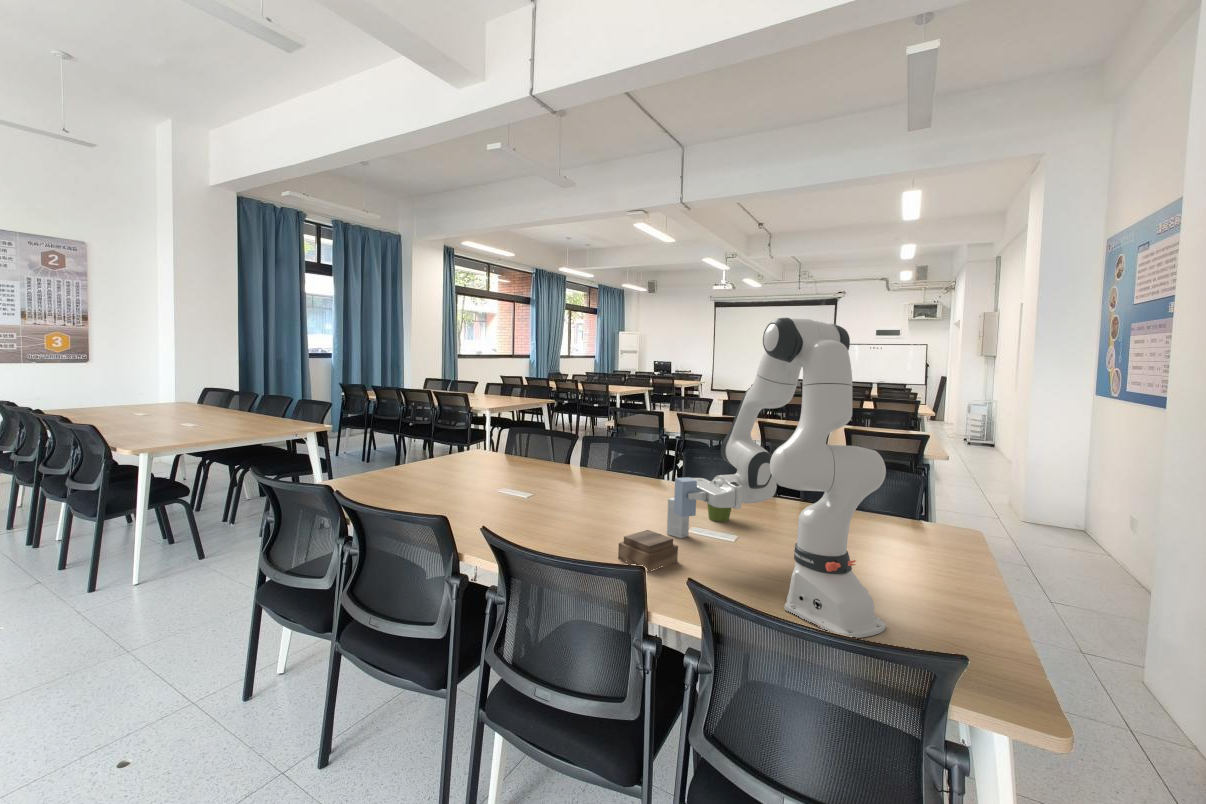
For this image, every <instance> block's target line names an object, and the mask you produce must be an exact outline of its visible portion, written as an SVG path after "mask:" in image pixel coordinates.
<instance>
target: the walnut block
mask: <svg viewBox="0 0 1206 804" xmlns="http://www.w3.org/2000/svg"><path fill="white" fill-rule="evenodd" d="M617 555H618V557H617V559H618V560H619V559H621V560H620V561H622V562H624V561H627V562H625V563H627V564H629V565H631V564H636V565H643V566H645V567H646V568H647V570H648V572H647V573H651V572H652V571H651V570H653V569H656V568H659V567H661V566H664V567H666V566H665V565H667V566H669V565H668V564H670V565H672V564H671V563H673V564H675V563H674V562H676V563H678V555H679V545H677V544H674V538H672V537H670V536H667V535H664V534H661V533H658V532H656V531H653V530H650V529H646V530H645V529H644V530H642V531H639V532H635V533H631V534H628V535H624V536H623V541H621V542H618V554H617ZM659 569H660V568H659ZM656 570H657V569H656ZM653 571H654V570H653Z"/></svg>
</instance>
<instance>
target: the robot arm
mask: <svg viewBox="0 0 1206 804" xmlns="http://www.w3.org/2000/svg"><path fill="white" fill-rule="evenodd" d="M850 344H851V338H850V334H849V332H848V331H847V329H846V328H845V327H842V326H840V325H838V324H836V323H835V324H834V323H827V322H823V321H818V320H817V321H816V320H812V319H809V318H789V317H780V318H775V319H772V320H771V321H769V323H768V324H767V326H766V328H765V329H764V331H763V335H762V345H763V349H764V352H763V354H762V357H761V360H760V361H759V365H758V368H757V371H756V374H755V379H754V381H753V383H752V385H751V386H750V387H749V388H748V389H747V390H746V391H745V393H743V396H742V398H741V401H740V403H739V405H738V408H737V410H736V414H735V416H734V419H733V421H732V424H731V425H730V428H729V430H728V433H727V434H726V435H725V437H724V439H723V441H722V443H721V446H720V454H721V457H722V459H723V460H724V461H725V462H726V463H728V464H729V465H731V466H733V467H734V468H735V469H736V473H733V474H720V475H716V476H715V477H714V478H713V479H712V480H711V481H710V480H708V479H706V478H704V477H703V478H702V477H691V478H692V479H694V480H696V481H697V493H693V492H688V493H687V496H686V497H687V498H688V499H689V500H696V501H702V502H704V503H706V504H707V503H708V504H710V505H712V506H714V507H717V508H731V509H736V510H740V509H741V508H742V504H755V503H762V502H765V501H768V500H770V499H771V498H773V497H774V496H775V494H776V491H777V487H778V486H780V487H783V488H787V489H792V490H796V491H807V492H809V491H810V492H824V493H823V495H822V497H821V498H820V499H819V500H818V501H816V502H814V503H812V504H810V505H808V506H806V507H805V508H804V509H803V510H802V511H801V512H800V514H799V516H798V518H797V519H798V523H797V534H796V535H797V539H796V543H795V545H794V549H793V559H794V561H795V562H794V563H795V564H794V568H793V571H792V573H791V578H790V585H789V589H788V594H787V596H786V602H785V604H784V610H785V612H786V611H787V612H788V611H789V612H788V613H790V612H791V613H790V614H792V613H793V614H792V615H794V614H795V616H796V615H797V616H796V617H798V616H799V617H798V618H800V619H803V620H804V619H805V620H804V621H806V620H807V621H806V622H808V621H809V622H808V623H810V622H812V623H815V624H817V625H820V626H822V627H819V626H817V627H818V628H820V629H822V630H824V629H825V630H828V631H831V632H835V633H839V634H844V635H847V636H852V637H856V638H855V639H858V638H859V639H860V638H866V637H867V638H868V637H871V636H875V635H878V634H880V633H882V632H884V631H885V630H886V628H887V627H886V623H885V621H884V620H882V619H880V618H879V617H878V616H876V615H875V603H874V599H873V597H872V596H871V594H870V593H869V591H868V589H867V588H865V587H864V585H863V584H862V583H861V581H860V580H859V579H858V577H857V576H856V574H855V573H854V572H853V571H852V570H853V567H852V566H857V565H856V562H857V560H855V559H854V560H851V558H850V554H849V551H848V550H847V549H848V538H849V531H850V527H851V526H850V525H851V521H852V518H853V515H854V513H855V511H856V510H857V508H858V506H859V505H860V504H861V502H863V501H864V500H865V498H867V497H868V496H869V495H870V494H872V493H874V492H875V491H877V490H878V489H879V488H880V487H881V486H882V484H883V483H884V481H885V478H886V473H887V470H886V464H885V461H884V459H883V457H882V456H881V454H880V453H879V452H877V450H874V449H870V448H866V447H862V446H856V445H840V444H838V445H837V444H827V440H828V436H829V435H830V434H831V432H835V431H836V430H839V429H841V428H843V427H845V426H846V425H848V423H849V422H850V421H851V419H852V417H853V370H852V362H851V358H850V353H849V350H850V347H851V345H850ZM801 370H802V387H801V388H802V390H801V391H802V392H801V393H802V394H801V395H802V396H801V409H800V410H801V411H800V418H799V420H798V421H799V422H798V424H797V426H796V428H795V430H794V432H793V434H792V435H791V436H790V437H789V438H788V439H787V440H786V441H785V442H784V443H783V444H781V445H779V446H778V447H777V448H776V449H775V450H774V451H773V453H770V452H769V451H768V450H766V449H765V448H764V447H763V446H761V445H759V444H758V443H757V442H755V441H754V440H753V438H752V431H753V428H754V426H755V423H756V421H757V418H758V415H759V413H760V412H761V411H762V410H763V409H778V408H779V409H780V408H782V407H785V405H787V404H788V403H790V402H791V401H792V399H793V397H794V395H795V392H796V389H797V386H798V382H799V379H800V373H801ZM777 485H778V486H777ZM812 623H811V624H812ZM825 630H824V631H825Z"/></svg>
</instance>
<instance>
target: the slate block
mask: <svg viewBox="0 0 1206 804" xmlns="http://www.w3.org/2000/svg"><path fill="white" fill-rule="evenodd" d="M692 478H693V477H690V476H688V477H675V478H674V513H676V514H677V515H679V516H681V517H686V516H689V517H694V516H696V515H697V513H696V510H697V500H689V499H688V498H687V497H686V496H687V493H688V492H693V493H697V481H696V480H694V479H692Z"/></svg>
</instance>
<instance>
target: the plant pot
mask: <svg viewBox="0 0 1206 804" xmlns="http://www.w3.org/2000/svg"><path fill="white" fill-rule="evenodd" d="M706 505H707V512H708V513H707V516H708V519H709V520H711V521H712V522H719V523H724V522H725V523H726V522H728V521H729V519H730V516H731V511H732V508H717V507H714V506H712V505H710V504H708V503H706Z"/></svg>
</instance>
